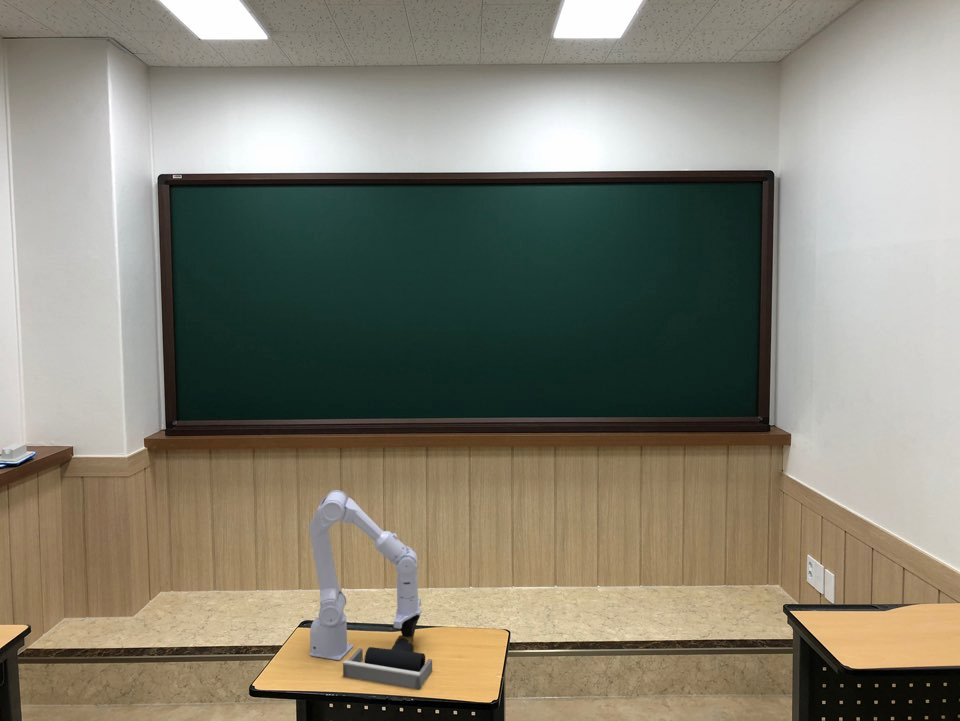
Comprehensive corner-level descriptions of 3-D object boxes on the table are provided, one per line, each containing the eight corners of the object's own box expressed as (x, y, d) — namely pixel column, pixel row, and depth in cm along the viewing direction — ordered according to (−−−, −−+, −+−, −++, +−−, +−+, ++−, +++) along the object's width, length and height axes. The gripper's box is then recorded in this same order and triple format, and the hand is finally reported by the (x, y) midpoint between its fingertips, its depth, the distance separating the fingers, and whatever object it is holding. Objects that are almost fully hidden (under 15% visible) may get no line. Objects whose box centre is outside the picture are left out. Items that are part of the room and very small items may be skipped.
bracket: (343, 676, 171) (342, 662, 171) (359, 658, 180) (359, 644, 180) (419, 689, 165) (418, 674, 165) (432, 670, 174) (432, 656, 174)
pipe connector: (380, 630, 185) (432, 636, 182) (381, 649, 186) (432, 655, 182) (364, 652, 174) (418, 659, 171) (364, 671, 175) (419, 678, 171)
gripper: (410, 607, 176) (411, 656, 177) (430, 585, 190) (431, 630, 191) (386, 604, 178) (387, 652, 179) (407, 582, 192) (408, 627, 193)
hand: (408, 641), depth 185 cm, fingers closed
